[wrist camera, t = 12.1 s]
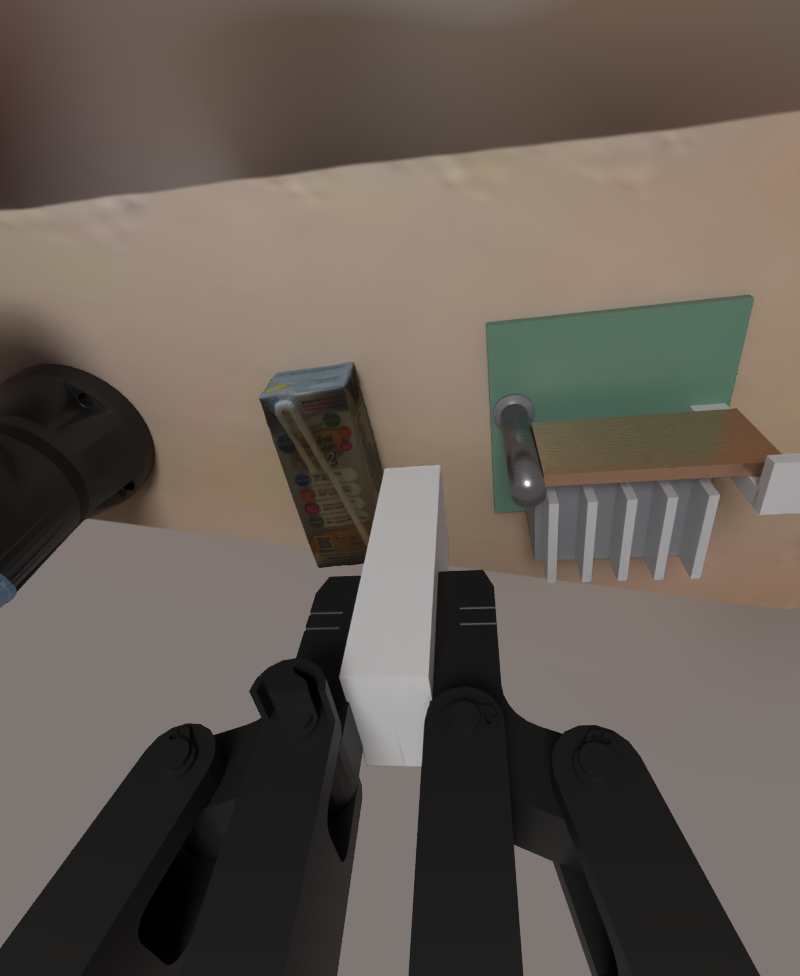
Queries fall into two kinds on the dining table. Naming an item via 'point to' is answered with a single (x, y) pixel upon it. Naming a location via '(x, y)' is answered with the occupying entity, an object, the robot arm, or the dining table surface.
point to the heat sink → (627, 392)
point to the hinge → (627, 449)
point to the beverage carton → (326, 458)
